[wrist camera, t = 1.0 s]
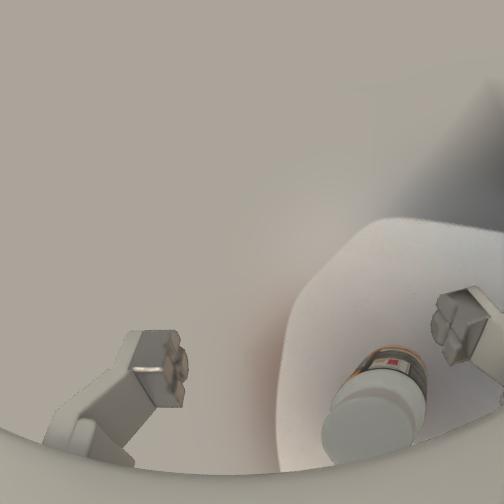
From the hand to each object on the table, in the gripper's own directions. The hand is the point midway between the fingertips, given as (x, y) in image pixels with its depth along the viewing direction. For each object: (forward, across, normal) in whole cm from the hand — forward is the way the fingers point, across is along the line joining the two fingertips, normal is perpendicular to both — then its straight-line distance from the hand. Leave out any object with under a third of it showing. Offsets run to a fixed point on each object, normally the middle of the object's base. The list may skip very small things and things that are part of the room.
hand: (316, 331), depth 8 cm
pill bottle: (+6, -8, +13) cm, 16 cm away
